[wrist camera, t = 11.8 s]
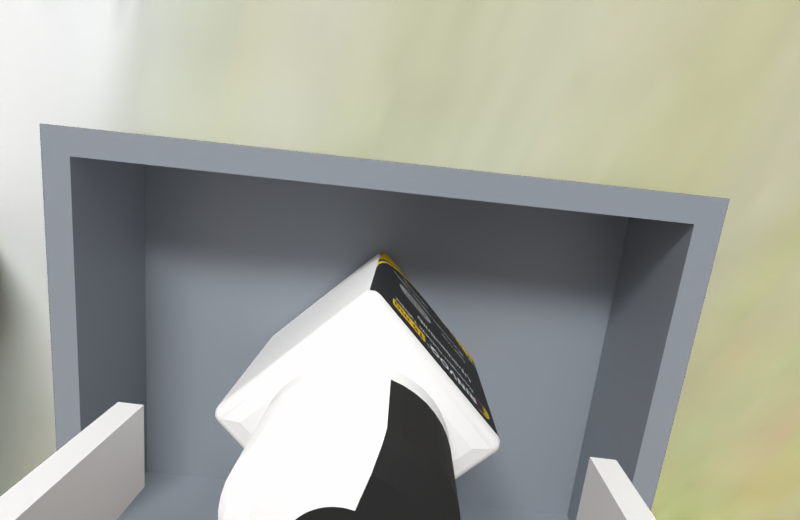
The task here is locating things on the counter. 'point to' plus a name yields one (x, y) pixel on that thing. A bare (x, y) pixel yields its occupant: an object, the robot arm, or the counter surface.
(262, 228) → the grey box
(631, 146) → the counter surface
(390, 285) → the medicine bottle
